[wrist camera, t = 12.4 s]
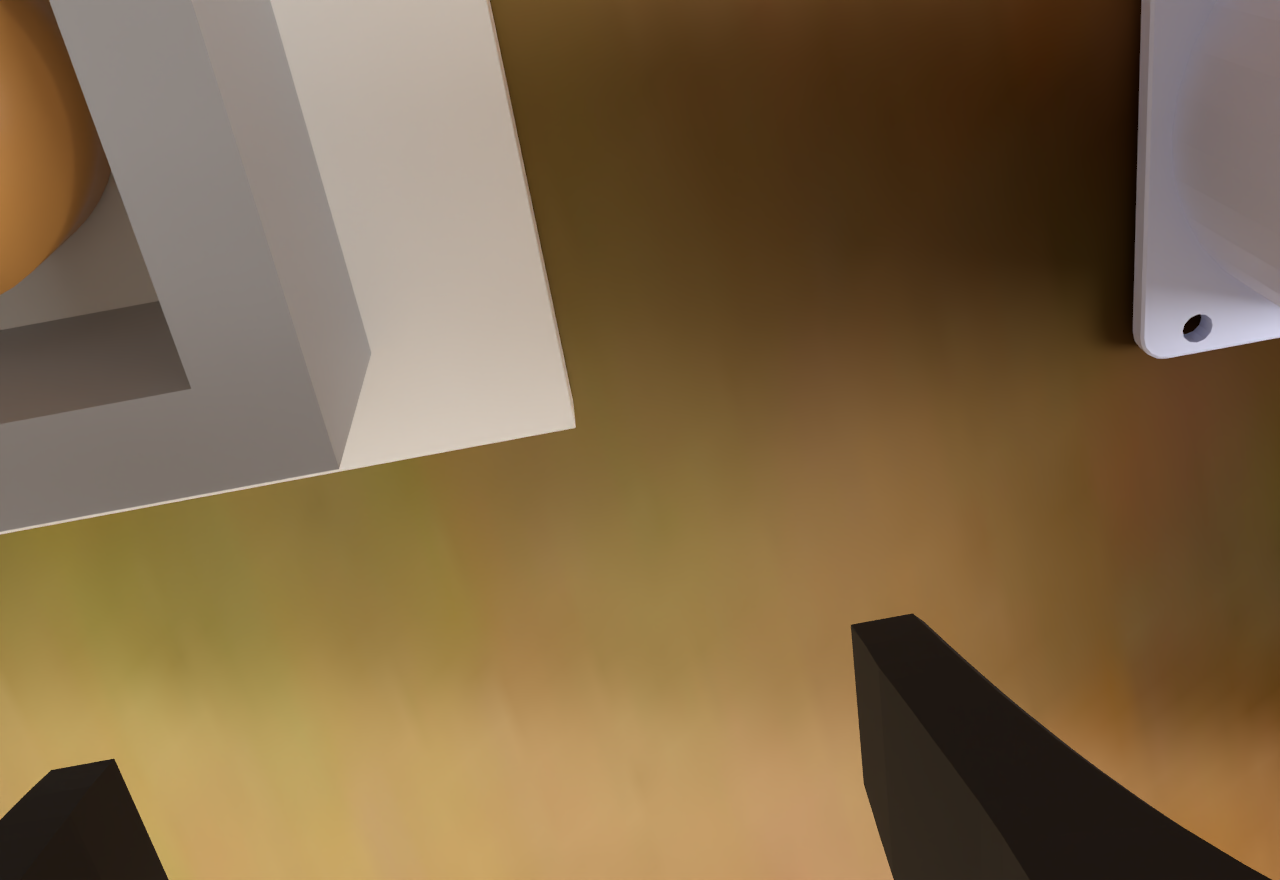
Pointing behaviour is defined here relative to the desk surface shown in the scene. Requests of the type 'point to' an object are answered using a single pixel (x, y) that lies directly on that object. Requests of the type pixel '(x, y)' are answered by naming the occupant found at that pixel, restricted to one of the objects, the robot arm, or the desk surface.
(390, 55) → the socket base plate
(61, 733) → the desk surface
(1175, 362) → the desk surface
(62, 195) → the button
